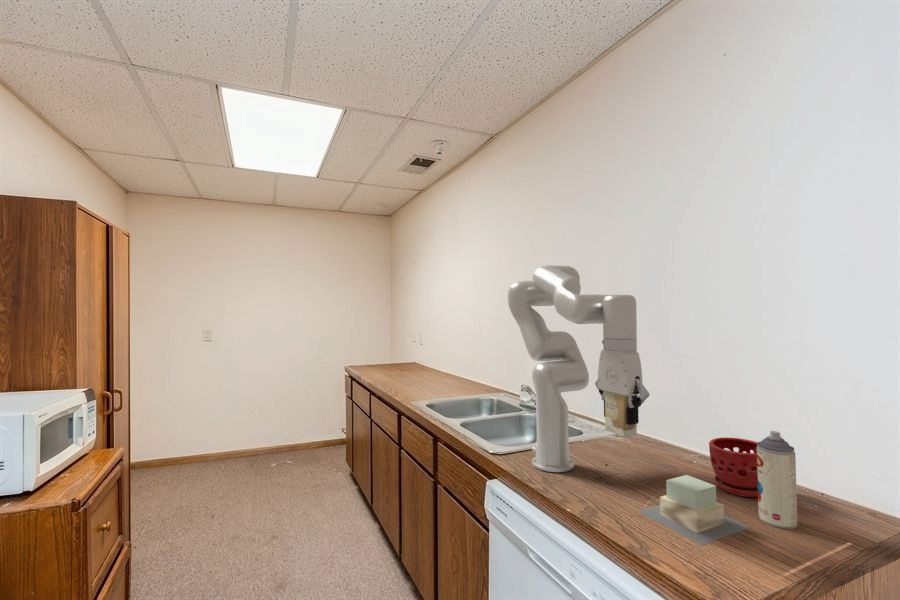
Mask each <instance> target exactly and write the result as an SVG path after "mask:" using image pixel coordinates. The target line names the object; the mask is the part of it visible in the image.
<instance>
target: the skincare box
mask: <svg viewBox="0 0 900 600" xmlns="http://www.w3.org/2000/svg"><path fill="white" fill-rule="evenodd" d="M635 388H636V387H635ZM636 391H637V389H636ZM633 393H634V391H633ZM631 397H632V400H634V396H631ZM627 407H629V405H628V402H627V397H626V396H623V395H618V394H614V393H610V392H606V391H605V417H604V430H605V431H607V432H610V433H612V434H615V435H618V436H620V437H623V438H625V437H632V436H637V431H638V429H637V428H638V427H637V425H638V424H632V425H628V424H627V414H626V408H627Z"/></svg>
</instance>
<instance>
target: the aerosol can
mask: <svg viewBox="0 0 900 600" xmlns="http://www.w3.org/2000/svg"><path fill="white" fill-rule="evenodd" d="M765 437H766V438H763V439H762V440H761V441H757V442H758V443H757V444H758V445H757V476H758V497H757V501H758V502H757V505H758V509H757V510H758V512H757V513H758V519H759V520H760V521H761V522H763V523H765V524H766V525H769V526H772V527H774V528H779V529H784V530H786V529H787V530H793V529H796V528H797V527H798V499H797V498H798V497H797V496H798V495H797V468H796V466H797V462H796V461H797V460H796V458H797V457H796V452H795V447H793V446H792V445H790V444H789V443H788V441H786V440H785V439H784V438H782V437H781V432H779V431H777V430H770V432H769V435H768V436H765Z"/></svg>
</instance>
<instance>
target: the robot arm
mask: <svg viewBox="0 0 900 600" xmlns="http://www.w3.org/2000/svg"><path fill="white" fill-rule="evenodd" d="M581 288H582V287H581V278H580V274H579V272H578V270H577V269H576V268H574V267H572V266H570V265H550V264H549V265H548V264H547V265H543V266H540V267H538V268H537V269H536V270H535V271H534V273H533V275H532V280H523V281H517V282H515V283H513V284H511V286H510V287H509V289H508V292H507V303H508V304H507V305H508V307H509V310H510V312H511V313H510V314H511V315H512V317H513V318H514V320H515V322H516V323H517V325H518V327H519V331H520V333H521V336H522V339H523V342H524V344H525V347H526V350H527V353H528V354H529V355H528V356H529V357H530V358H531V359H532V360H533V361H534V362H541V363H539V364H536V365H535V367H533V369H532V370H533V371H532V373H531V374H532V375H531V377H532V383H533V389H534V393H535V407H536V408H535V411H536V413H535V414H536V444H535V446H532V448H531V450H532V451H533V452H534V453H535V456H534V457H533V458H532V459H531V465H532V466H533V467H534V468H536V469H537V470H540V471H544V472H550V473H566V472H569V471H571V470H573V469H574V468H575V461H574V460H573V459H571V458H570V451H569V450H570V447H569V446H570V445H569V443H570V442H569V407H568V404H567V402H566V400H565V399H564V398H563V396H562V393H569V392H577V391H583V390H584V389H586V388H587V387H588V384H589V382H590V375H589V371H588V368H587V365H586V363H585V360H584V358H583V355H582V353H581V351H580V348H579V346H578V344H577V341H576V340H575V338H574V337H573V336H572V335H571V334H570V333H569V332H566V331H560V330H559V331H552V330H549V328H548V327H547V325H546V321H545V319H544V318H543V316H542V315H541V314H540V313H539V312H538V311H537V310H535V309H534V308H533V307H550V306H553V307H554V308H555V311H556V313H558V315H560V316H561V317H563V318H564V319H566V320H567V321H569V322H571V323H573V324H577V325H587V324H589V325H590V324H592V325H593V324H597V325H598V324H600V325H602V330H603V331H602V332H603V333H602V334H603V336H602V337H603V340H601V344H602V345H603V350H602V349H601V351H600V355H599V357H598V359H599V360H598V370H597V379H596V381H595V382H594V386H595V387H596V388H597V390H598V393H599V394H600V396H601V400H602V401H603V417H604V418H605V391H606V392H610V393H614V394H618V395H623V396H626V397H627V402H628V405H629V407H627V408H626V414H627V424H628V425H632V424H637V425H638V424H639V423H640V422H639V421H640V419H639V408H640V407H641V406H642V404H643V403H644V402H645V401H646V400H647V398H649V396H650V392H649V391H648V390H647V388H646V387H645V385H644V384H643V372H642V371H643V370H642V369H643V368H642V363H641V362H642V361H641V357H640V353H639V352H638V345H637V344H638V340H637V338H638V336H637V335H638V332H637V329H638V327H637V300H636V297H635V296H633V295H632V294H580V293H581V290H582V289H581ZM635 387H636V388H635ZM636 389H637V391H636ZM633 391H634V393H633ZM631 396H634V400H632V397H631Z"/></svg>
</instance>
